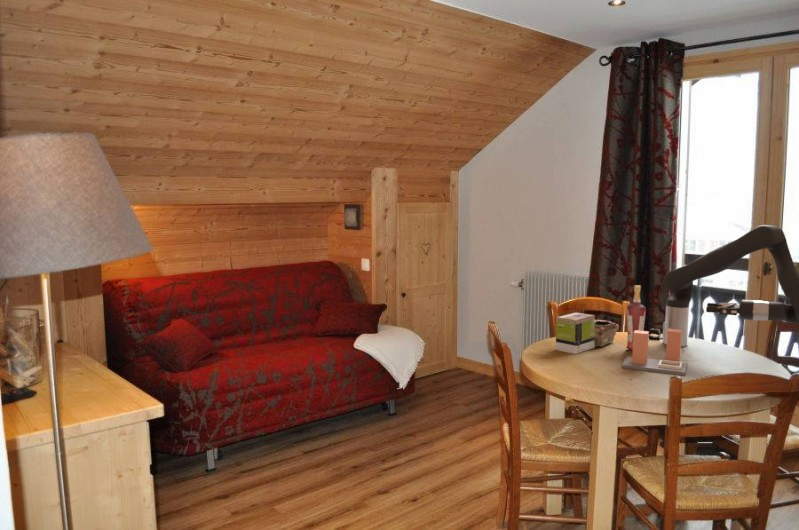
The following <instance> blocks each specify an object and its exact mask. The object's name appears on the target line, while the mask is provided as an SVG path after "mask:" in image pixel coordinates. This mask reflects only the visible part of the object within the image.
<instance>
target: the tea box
mask: <svg viewBox="0 0 799 530" xmlns="http://www.w3.org/2000/svg"><path fill="white" fill-rule="evenodd" d="M595 320H596V316H595V314H590V313H589V314H588V313H581V312H572V313H568V314H564V315H559V316H556V317H555V350H556V351H557V352H564V353H568V354H573V355H576V354H579V353H583V352H586V351H588V350H591V349H595V347H594V346H595V340H594V339H595Z"/></svg>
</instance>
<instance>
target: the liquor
mask: <svg viewBox="0 0 799 530" xmlns="http://www.w3.org/2000/svg"><path fill="white" fill-rule="evenodd" d="M641 290H642V285H640V284H639V285H637V284H636V285H633V292H634V294H633V300H632V303H631V304H628V305H627V307H626V308H627V312H626V314H627V315H626V316H627V317H626V318H627V320H626V321H627V322H626V323H627V343H626V347H625V348H626V349H627V350H628V351H629V352H631V353H633V333H634V331H635V330H639V331H645V329H644V328H645V321H646V311H647V310H646V309H647V307H646V306H645V305H643V304H641Z"/></svg>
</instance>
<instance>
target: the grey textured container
mask: <svg viewBox="0 0 799 530" xmlns="http://www.w3.org/2000/svg"><path fill="white" fill-rule="evenodd" d="M619 329H620V324H617V322H613V321H611V320H605V319H603V320H602V319H595V339H594V340H595V346H594V348H595V347H600V348H601V347H604V346H606V345H609V344H610V343H614V340H615V336H616V333H617V332H618V331H619Z"/></svg>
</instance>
